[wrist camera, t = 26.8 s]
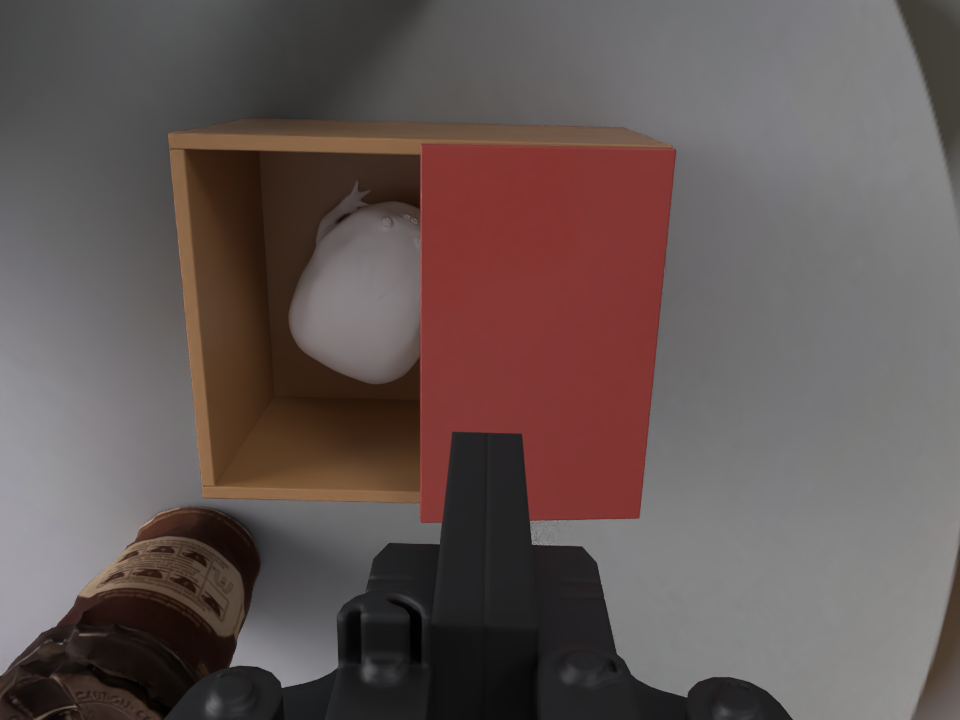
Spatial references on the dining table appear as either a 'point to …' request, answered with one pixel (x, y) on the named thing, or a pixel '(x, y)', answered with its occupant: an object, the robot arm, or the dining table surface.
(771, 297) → the dining table surface
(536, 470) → the flap
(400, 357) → the white frog figurine
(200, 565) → the coffee cup
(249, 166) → the carton
